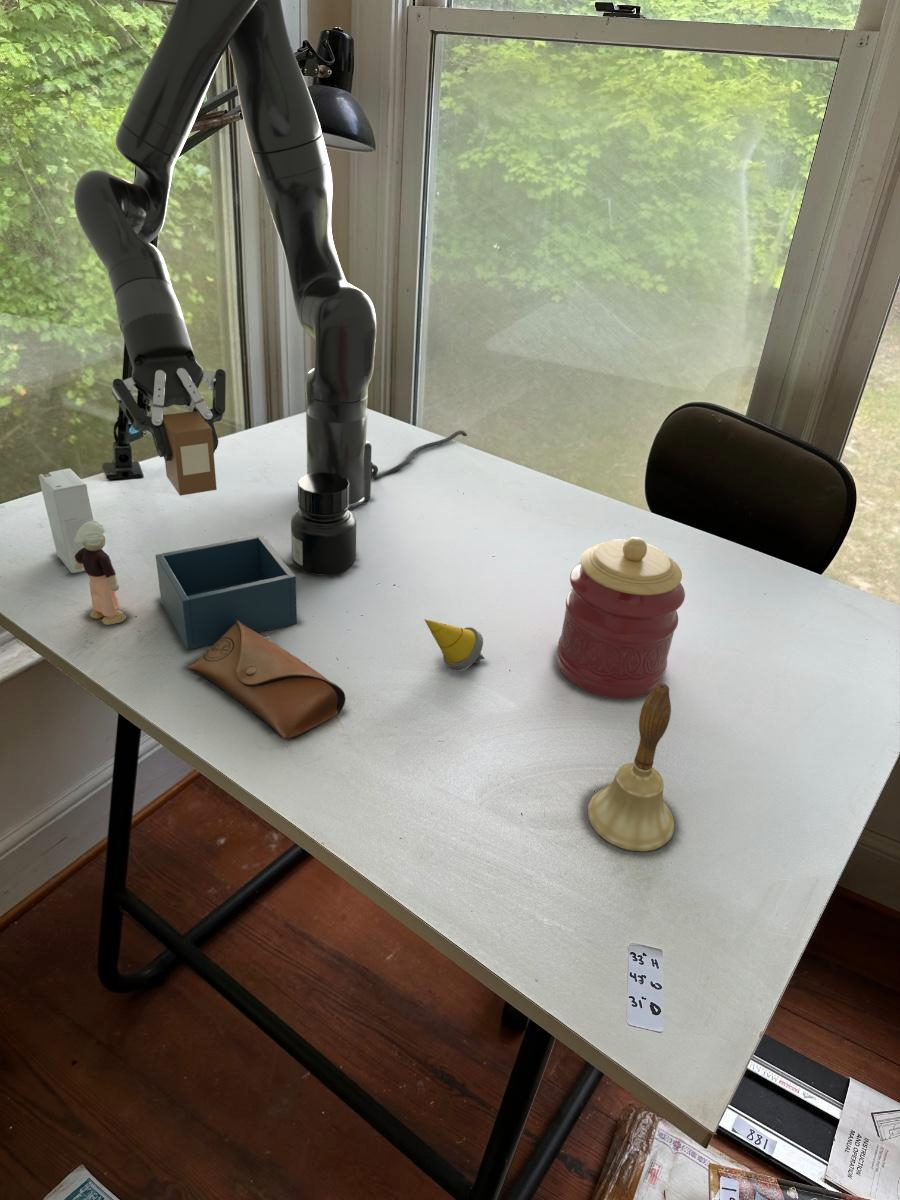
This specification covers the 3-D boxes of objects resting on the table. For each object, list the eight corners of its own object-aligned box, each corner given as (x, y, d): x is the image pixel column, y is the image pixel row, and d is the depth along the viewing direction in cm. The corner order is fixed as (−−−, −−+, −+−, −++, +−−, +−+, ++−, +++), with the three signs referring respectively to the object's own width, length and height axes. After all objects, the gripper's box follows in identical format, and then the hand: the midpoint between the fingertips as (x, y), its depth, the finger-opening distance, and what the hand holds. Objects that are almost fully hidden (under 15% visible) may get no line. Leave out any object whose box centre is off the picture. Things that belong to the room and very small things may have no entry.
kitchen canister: (536, 646, 105) (556, 519, 96) (624, 629, 110) (651, 506, 100) (591, 711, 95) (619, 576, 86) (685, 689, 100) (722, 559, 90)
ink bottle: (306, 540, 123) (304, 464, 117) (364, 550, 122) (366, 473, 116) (281, 572, 115) (278, 492, 109) (343, 583, 114) (344, 503, 108)
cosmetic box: (104, 566, 113) (90, 483, 107) (69, 575, 111) (53, 491, 104) (87, 547, 117) (73, 466, 111) (53, 555, 115) (37, 473, 108)
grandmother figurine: (141, 616, 104) (127, 524, 97) (118, 631, 101) (103, 537, 94) (93, 598, 107) (76, 507, 100) (69, 612, 104) (51, 520, 97)
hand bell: (576, 832, 80) (605, 700, 71) (599, 776, 86) (629, 649, 78) (664, 864, 77) (705, 731, 69) (681, 805, 84) (720, 676, 75)
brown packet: (202, 471, 108) (196, 410, 104) (217, 490, 104) (211, 428, 100) (166, 476, 106) (159, 415, 102) (180, 496, 102) (173, 433, 97)
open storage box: (264, 579, 114) (261, 534, 110) (297, 623, 105) (296, 576, 102) (161, 601, 107) (155, 554, 104) (187, 650, 99) (182, 601, 95)
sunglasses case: (180, 666, 95) (201, 612, 95) (226, 669, 101) (246, 618, 101) (287, 743, 86) (312, 684, 86) (331, 740, 92) (354, 685, 92)
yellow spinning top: (485, 685, 98) (427, 642, 93) (457, 679, 103) (400, 637, 97) (505, 645, 100) (449, 600, 95) (476, 641, 104) (422, 598, 99)
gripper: (93, 314, 98) (132, 451, 96) (216, 307, 104) (254, 435, 102) (91, 347, 104) (127, 476, 102) (206, 338, 111) (242, 459, 109)
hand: (190, 454), depth 102 cm, fingers closed on brown packet, 4 cm apart
